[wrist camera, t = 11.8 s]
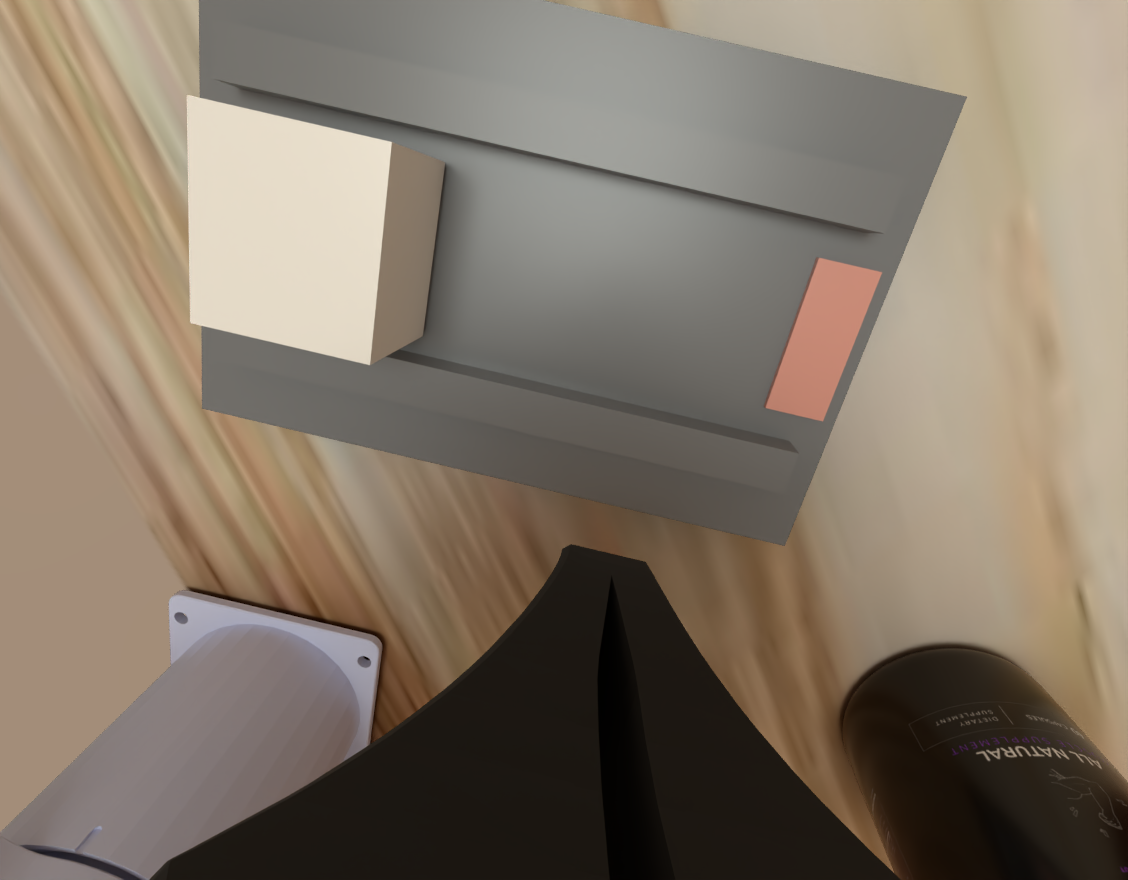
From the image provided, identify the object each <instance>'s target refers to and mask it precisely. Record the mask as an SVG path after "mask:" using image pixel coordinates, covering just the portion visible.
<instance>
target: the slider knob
mask: <svg viewBox="0 0 1128 880" xmlns="http://www.w3.org/2000/svg"><path fill="white" fill-rule="evenodd" d="M187 138H188V206H189V274H190V323H192V324H197V325H201V326H205V327H209V328H214V329H218V330H222V331H226V332H231V333H235V334H239V335H243V336H248V337H252V338H256V339H261V340H265V341H269V342H273V343H278V344H282V345H286V346H290V347H295V348H299V349H303V350H307V351H312V352H316V353H320V354H324V355H329V356H333V357H337V358H341V359H346V360H350V361H354V362H359V363H363V364H367V365H371V364H373V363H375V362H377V361H378V360H380V359H382V358H384V357H386V356H388V355H389V354H391V353H393V352H395V351H397V350H399V349H400V348H402V347H404V346H406V345H408V344H409V343H411V342H413V341H415V340H417V339H419V338H420V337H422V336H423V331H424V323H425V315H426V307H427V300H428V292H429V284H430V276H431V269H432V261H433V253H434V245H435V238H436V230H437V222H438V214H439V207H440V199H441V191H442V183H443V176H444V168H445V162H443V161H441V160H438V159H435V158H433V157H430V156H427V155H425V154H422V153H420V152H417V151H414V150H412V149H409V148H406V147H404V146H401V145H398V144H396V143H393V142H390V141H385V140H381V139H377V138H372V137H368V136H364V135H359V134H355V133H351V132H346V131H342V130H338V129H333V128H329V127H325V126H320V125H316V124H312V123H307V122H303V121H299V120H294V119H290V118H286V117H281V116H277V115H273V114H268V113H264V112H260V111H255V110H251V109H247V108H242V107H238V106H234V105H229V104H225V103H221V102H216V101H212V100H208V99H203V98H199V97H195V96H190V95H187Z"/></svg>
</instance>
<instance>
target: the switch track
mask: <svg viewBox="0 0 1128 880" xmlns="http://www.w3.org/2000/svg"><path fill="white" fill-rule="evenodd" d="M199 61H200V98H203V99H208V100H212V101H216V102H221V103H225V104H229V105H234V106H238V107H242V108H247V109H251V110H255V111H260V112H264V113H268V114H273V115H277V116H281V117H286V118H290V119H294V120H299V121H303V122H307V123H312V124H316V125H320V126H325V127H329V128H333V129H338V130H342V131H346V132H351V133H355V134H359V135H364V136H368V137H372V138H377V139H381V140H385V141H390V142H393V143H396V144H398V145H401V146H404V147H406V148H409V149H412V150H414V151H417V152H420V153H422V154H425V155H427V156H430V157H433V158H435V159H438V160H441V161H443V162H445V168H444V176H443V183H442V191H441V199H440V207H439V214H438V222H437V230H436V238H435V245H434V253H433V261H432V269H431V276H430V284H429V292H428V300H427V307H426V315H425V323H424V331H423V336H422V337H420V338H419V339H417V340H415V341H413V342H411V343H409V344H408V345H406V346H404V347H402V348H400V349H399V350H397V351H395V352H393V353H391V354H389V355H388V356H386V357H384V358H382V359H380V360H378V361H377V362H375V363H373V364H371V365H367V364H363V363H359V362H354V361H350V360H346V359H341V358H337V357H333V356H329V355H324V354H320V353H316V352H312V351H307V350H303V349H299V348H295V347H290V346H286V345H282V344H278V343H273V342H269V341H265V340H261V339H256V338H252V337H248V336H243V335H239V334H235V333H231V332H226V331H222V330H218V329H214V328H209V327H205V326H202V409H206V410H211V411H215V412H219V413H223V414H228V415H232V416H236V417H240V418H245V419H249V420H253V421H257V422H262V423H266V424H270V425H274V426H279V427H283V428H287V429H291V430H295V431H300V432H304V433H308V434H312V435H317V436H321V437H325V438H329V439H334V440H338V441H342V442H346V443H351V444H355V445H359V446H363V447H368V448H372V449H376V450H380V451H384V452H389V453H393V454H397V455H401V456H406V457H410V458H414V459H418V460H423V461H427V462H431V463H435V464H440V465H444V466H448V467H452V468H457V469H461V470H465V471H469V472H473V473H478V474H482V475H486V476H490V477H495V478H499V479H503V480H507V481H512V482H516V483H520V484H524V485H529V486H533V487H537V488H541V489H546V490H550V491H554V492H558V493H562V494H567V495H571V496H575V497H579V498H584V499H588V500H592V501H596V502H601V503H605V504H609V505H613V506H618V507H622V508H626V509H630V510H634V511H639V512H643V513H647V514H651V515H656V516H660V517H664V518H668V519H673V520H677V521H681V522H685V523H690V524H694V525H698V526H702V527H707V528H711V529H715V530H719V531H723V532H728V533H732V534H736V535H740V536H745V537H749V538H753V539H757V540H762V541H766V542H770V543H774V544H779V545H783V546H785V544H786V541H787V539H788V537H789V534H790V532H791V529H792V527H793V524H794V522H795V519H796V517H797V514H798V512H799V509H800V507H801V505H802V502H803V500H804V497H805V495H806V492H807V490H808V487H809V485H810V482H811V480H812V477H813V475H814V473H815V470H816V468H817V465H818V463H819V460H820V458H821V455H822V453H823V450H824V448H825V445H826V443H827V440H828V438H829V436H830V433H831V431H832V428H833V426H834V423H835V421H836V418H837V416H838V413H839V411H840V408H841V406H842V404H843V401H844V399H845V396H846V394H847V391H848V389H849V386H850V384H851V381H852V379H853V376H854V374H855V371H856V369H857V367H858V364H859V362H860V359H861V357H862V354H863V352H864V349H865V347H866V344H867V342H868V339H869V337H870V335H871V332H872V330H873V327H874V325H875V322H876V320H877V317H878V315H879V312H880V310H881V307H882V305H883V303H884V300H885V298H886V295H887V293H888V290H889V288H890V285H891V283H892V280H893V278H894V275H895V273H896V270H897V268H898V266H899V263H900V261H901V258H902V256H903V253H904V251H905V248H906V246H907V243H908V241H909V238H910V236H911V234H912V231H913V229H914V226H915V224H916V221H917V219H918V216H919V214H920V211H921V209H922V206H923V204H924V201H925V199H926V197H927V194H928V192H929V189H930V187H931V184H932V182H933V179H934V177H935V174H936V172H937V169H938V167H939V165H940V162H941V160H942V157H943V155H944V152H945V150H946V147H947V145H948V142H949V140H950V137H951V135H952V133H953V130H954V128H955V125H956V123H957V120H958V118H959V115H960V113H961V110H962V108H963V105H964V103H965V100H966V98H967V97H966V96H961V95H957V94H952V93H948V92H944V91H939V90H935V89H930V88H926V87H922V86H917V85H913V84H908V83H904V82H900V81H895V80H891V79H887V78H882V77H878V76H873V75H869V74H865V73H860V72H856V71H851V70H847V69H843V68H838V67H834V66H830V65H825V64H821V63H816V62H812V61H808V60H803V59H799V58H794V57H790V56H786V55H781V54H777V53H772V52H768V51H764V50H759V49H755V48H751V47H746V46H742V45H737V44H733V43H729V42H724V41H720V40H715V39H711V38H707V37H702V36H698V35H694V34H689V33H685V32H680V31H676V30H672V29H667V28H663V27H658V26H654V25H650V24H645V23H641V22H636V21H632V20H628V19H623V18H619V17H615V16H610V15H606V14H601V13H597V12H593V11H588V10H584V9H579V8H575V7H571V6H566V5H562V4H558V3H553V2H549V1H544V0H199Z"/></svg>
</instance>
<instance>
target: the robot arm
mask: <svg viewBox="0 0 1128 880" xmlns="http://www.w3.org/2000/svg"><path fill="white" fill-rule="evenodd" d="M183 613H184V614H185V615H186V616H185V615H184V614H183ZM169 627H170V655H171V666H170V667H169V668H168V669H167V670H166V671H165V672H164V673H163V674H162V675H161V676H160V677H159V678H158V679H157V680H156V681H155V682H154V683H153V684H152V685H151V686H150V687H149V688H148V689H147V690H146V691H145V692H144V693H143V694H141V695H140V696H139V697H138V698H137V699H136V701H134V702H133V703H132V704H131V705H130V706H129V707H128V708H127V709H126V710H125V711H124V712H123V713H122V714H121V715H120V716H119V717H118V718H117V719H116V720H115V721H114V722H113V723H112V724H111V725H110V726H109V727H108V728H107V729H106V730H105V731H104V732H103V733H102V734H100V735H99V736H98V737H97V738H96V739H95V740H94V741H93V742H92V743H91V744H90V745H89V746H88V747H87V748H86V749H85V750H84V751H83V752H82V753H81V754H80V755H79V756H78V757H77V758H76V759H75V760H74V761H73V762H72V763H71V764H70V765H69V766H68V767H67V768H66V769H65V770H64V771H63V772H62V773H61V774H60V775H58V776H57V777H56V778H55V780H54V781H52V782H51V783H50V784H49V785H48V786H47V787H46V788H45V789H44V790H43V791H42V792H41V793H40V794H39V795H38V796H37V797H36V798H35V799H34V800H33V801H32V802H31V803H30V804H29V805H28V806H27V807H26V808H25V809H24V810H23V811H22V812H21V813H20V814H19V815H17V816H16V817H15V818H14V819H13V820H12V821H11V822H10V823H9V824H8V825H7V826H6V827H5V828H4V829H3V830H2V831H1V832H0V880H901V879H900V878H899V877H898V876H896V875H895V874H894V873H893V872H892V871H891V870H890V869H889V868H888V867H887V866H886V865H885V864H884V863H883V862H882V861H881V860H879V859H878V858H877V857H876V856H875V855H874V854H873V853H872V852H871V851H870V850H869V849H868V848H867V847H866V846H865V845H864V844H863V843H862V842H861V841H860V840H859V839H858V838H857V837H856V836H855V835H854V834H853V833H852V832H851V831H850V830H849V829H848V828H847V827H846V826H845V825H844V824H843V823H842V822H841V821H840V820H839V819H838V818H837V817H836V816H835V815H834V814H833V813H832V812H831V811H830V810H829V809H828V808H827V807H826V806H825V805H824V804H823V803H822V802H821V801H820V800H819V798H818V797H817V796H816V795H815V794H814V793H813V792H812V791H811V790H810V789H809V788H808V787H807V786H806V784H805V783H804V782H803V781H802V780H801V779H800V778H799V777H798V776H797V775H796V774H795V773H794V771H793V770H792V769H791V768H790V767H789V766H788V765H787V763H786V762H785V761H784V760H783V759H782V758H781V756H780V755H779V754H778V753H777V752H776V751H775V749H774V748H773V747H772V746H771V745H770V744H769V742H768V741H767V740H766V739H765V738H764V737H763V735H762V734H761V733H760V732H759V731H758V730H757V728H756V727H755V726H754V725H753V723H752V722H751V721H750V720H749V718H748V717H747V716H746V715H745V713H744V712H743V711H742V710H741V708H740V707H739V706H738V705H737V703H736V702H735V700H734V699H733V698H732V696H731V695H730V694H729V692H728V691H727V690H726V688H725V687H724V686H723V684H722V683H721V681H720V680H719V679H718V677H717V676H716V675H715V673H714V672H713V671H712V669H711V668H710V666H709V665H708V663H707V662H706V660H705V659H704V657H703V656H702V655H701V653H700V652H699V650H698V648H697V647H696V645H695V644H694V642H693V641H692V639H691V638H690V636H689V634H688V633H687V631H686V630H685V628H684V627H683V625H682V623H681V622H680V620H679V618H678V617H677V615H676V613H675V612H674V610H673V608H672V606H671V605H670V603H669V601H668V600H667V598H666V596H665V594H664V593H663V591H662V589H661V587H660V586H659V584H658V582H657V581H656V579H655V577H654V575H653V574H652V572H651V570H650V569H649V567H648V565H647V564H646V562H643V561H639V560H635V559H631V558H627V557H622V556H618V555H614V554H610V553H605V552H601V551H597V550H593V549H589V548H584V547H580V546H576V545H572V544H571V545H569V546H567V547H565V548H563V549H562V553H561V557H560V559H559V561H558V563H557V565H556V567H555V569H554V570H553V572H552V574H551V575H550V577H549V578H548V580H547V581H546V583H545V584H544V586H543V587H542V588H541V590H540V591H539V592H538V594H537V595H536V596H535V598H534V599H533V600H532V602H531V603H530V604H529V605H528V607H527V608H526V609H525V611H524V612H523V613H522V614H521V615H520V616H519V618H518V619H517V620H516V621H515V622H514V623H513V624H512V625H511V626H510V627H509V628H508V630H507V631H506V632H505V633H504V634H503V635H502V636H501V637H500V638H499V639H498V640H497V642H496V643H495V644H494V645H493V646H492V647H491V648H490V649H489V650H488V651H487V652H486V653H485V654H484V655H483V656H482V657H480V658H479V659H478V660H477V661H476V662H475V663H474V664H473V665H472V666H471V667H470V668H469V669H468V670H466V671H465V672H464V673H463V674H462V675H461V676H460V677H458V678H457V679H456V680H455V681H454V682H453V683H452V684H450V685H449V686H448V687H447V688H446V689H444V690H443V691H442V692H441V693H439V694H438V695H437V696H436V697H434V698H433V699H432V700H430V701H429V702H428V703H427V704H425V705H424V706H423V707H422V708H420V709H419V710H418V711H416V712H415V713H414V714H413V715H411V716H410V717H409V718H407V719H406V720H405V721H403V722H402V723H400V724H399V725H398V726H396V727H395V728H394V729H392V730H391V731H389V732H388V733H386V734H385V735H384V736H382V737H381V738H379V739H378V740H376V741H374V742H373V743H371V744H370V740H371V732H372V724H373V717H374V709H375V701H376V693H377V686H378V678H379V670H380V662H381V655H382V643H381V641H380V640H379V639H378V638H377V637H376V636H373V635H371V634H367V633H363V632H359V631H355V630H350V629H346V628H342V627H338V626H334V625H329V624H325V623H321V622H317V621H313V620H309V619H304V618H300V617H296V616H292V615H288V614H283V613H279V612H275V611H271V610H267V609H263V608H258V607H254V606H250V605H246V604H242V603H237V602H233V601H229V600H225V599H221V598H217V597H212V596H208V595H204V594H200V593H196V592H191V591H187V590H182V591H179V592H177V593H176V594H175V595H173V596H172V597H171V598H170V600H169ZM363 656H365V657H367V658H369V659H370V660H366V659H364V657H363Z"/></svg>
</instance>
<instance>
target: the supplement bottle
mask: <svg viewBox="0 0 1128 880" xmlns="http://www.w3.org/2000/svg"><path fill="white" fill-rule="evenodd" d="M842 735H843V743H844V747H845V750H846V754H847V757H848V759H849V762H850V764H851V767H852V769H853V772H854V775H855V777H856V780H857V782H858V785H859V787H860V790H861V792H862V795H863V797H864V799H865V802H866V804H867V807H868V809H869V812H870V814H871V817H872V819H873V821H874V824H875V826H876V829H877V831H878V834H879V836H880V839H881V841H882V843H883V846H884V848H885V851H886V853H887V856H888V858H889V861H890V863H891V865H892V868H893V870H894V873H895V875H896V876H898V877H899V878H900V879H901V880H1128V782H1127V780H1126V779H1125V778H1124V777H1123V776H1122V775H1121V774H1120V773H1119V772H1118V770H1117V769H1116V768H1115V767H1114V766H1113V765H1112V764H1111V763H1110V762H1109V760H1108V759H1107V758H1106V757H1105V756H1104V755H1103V754H1102V753H1101V751H1100V750H1099V749H1098V748H1097V747H1096V746H1095V745H1094V744H1093V743H1092V741H1091V740H1090V739H1089V738H1088V737H1087V736H1086V735H1085V734H1084V733H1083V731H1082V730H1081V729H1080V728H1079V727H1078V726H1077V725H1076V724H1075V722H1074V721H1073V720H1072V719H1071V718H1070V717H1069V716H1068V715H1067V714H1066V712H1065V711H1064V710H1063V709H1062V708H1061V707H1060V706H1059V705H1058V704H1057V703H1056V702H1055V701H1054V700H1053V698H1052V697H1051V696H1050V695H1049V694H1048V693H1047V692H1046V691H1045V690H1044V689H1043V688H1042V686H1041V685H1040V684H1039V683H1037V682H1036V681H1035V680H1034V679H1033V678H1032V677H1031V676H1030V675H1029V674H1028V673H1026V672H1025V671H1024V670H1023V669H1021V668H1019V667H1018V666H1016V665H1014V664H1013V663H1011V662H1009V661H1007V660H1005V659H1003V658H1000V657H997V656H995V655H992V654H988V653H985V652H981V651H976V650H970V649H961V648H939V649H930V650H925V651H920V652H916V653H912V654H909V655H906V656H903V657H901V658H898V659H896V660H894V661H892V662H890V663H888V664H886V665H884V666H883V667H881V668H880V669H878V670H877V671H875V672H874V673H873V674H871V675H870V676H869V677H868V678H867V679H866V680H865V681H864V682H863V683H862V684H861V685H860V686H859V687H858V689H857V690H856V691H855V693H854V694H853V696H852V698H851V699H850V701H849V703H848V706H847V708H846V711H845V715H844V718H843V726H842Z"/></svg>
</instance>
